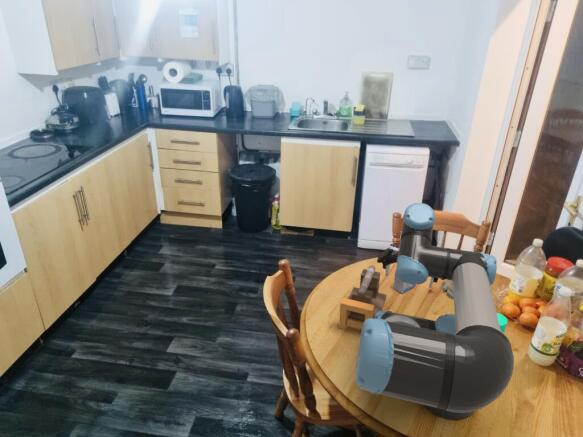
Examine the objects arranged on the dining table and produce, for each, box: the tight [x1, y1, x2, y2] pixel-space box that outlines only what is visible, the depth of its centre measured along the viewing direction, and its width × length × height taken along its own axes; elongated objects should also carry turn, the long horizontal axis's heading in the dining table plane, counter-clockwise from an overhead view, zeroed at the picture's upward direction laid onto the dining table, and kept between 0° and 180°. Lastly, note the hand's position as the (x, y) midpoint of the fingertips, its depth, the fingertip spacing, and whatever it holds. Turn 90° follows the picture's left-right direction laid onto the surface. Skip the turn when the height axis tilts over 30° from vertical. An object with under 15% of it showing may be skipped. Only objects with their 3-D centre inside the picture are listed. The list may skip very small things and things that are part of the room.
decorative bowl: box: [440, 280, 454, 301], centre depth 156 cm, size 15×4×15 cm
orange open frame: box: [338, 297, 374, 331], centre depth 135 cm, size 3×10×10 cm, turn 68°
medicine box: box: [392, 269, 417, 295], centre depth 156 cm, size 8×4×9 cm, turn 129°
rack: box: [347, 265, 387, 323], centre depth 145 cm, size 16×12×12 cm
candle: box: [496, 312, 509, 334], centre depth 128 cm, size 6×6×12 cm
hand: (408, 278), depth 135 cm, fingers open, 13 cm apart
